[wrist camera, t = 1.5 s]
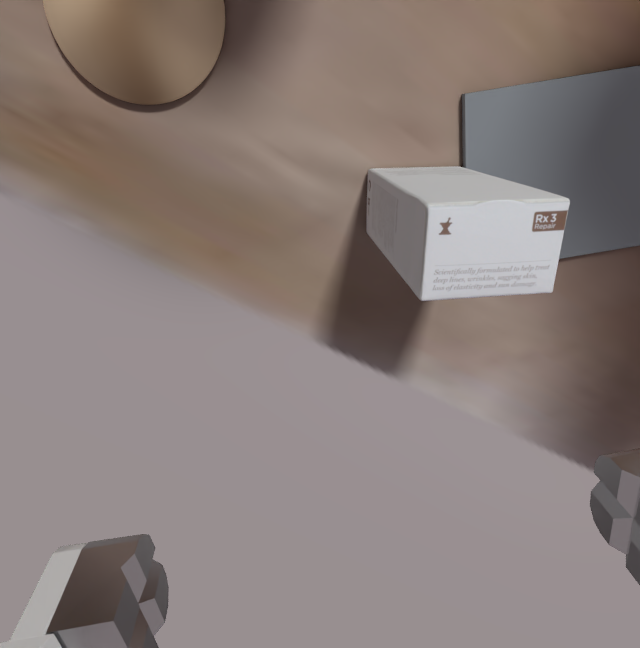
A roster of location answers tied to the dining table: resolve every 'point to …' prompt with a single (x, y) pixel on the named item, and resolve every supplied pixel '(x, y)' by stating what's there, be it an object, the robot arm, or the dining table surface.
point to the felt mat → (566, 150)
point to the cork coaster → (140, 44)
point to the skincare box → (465, 231)
